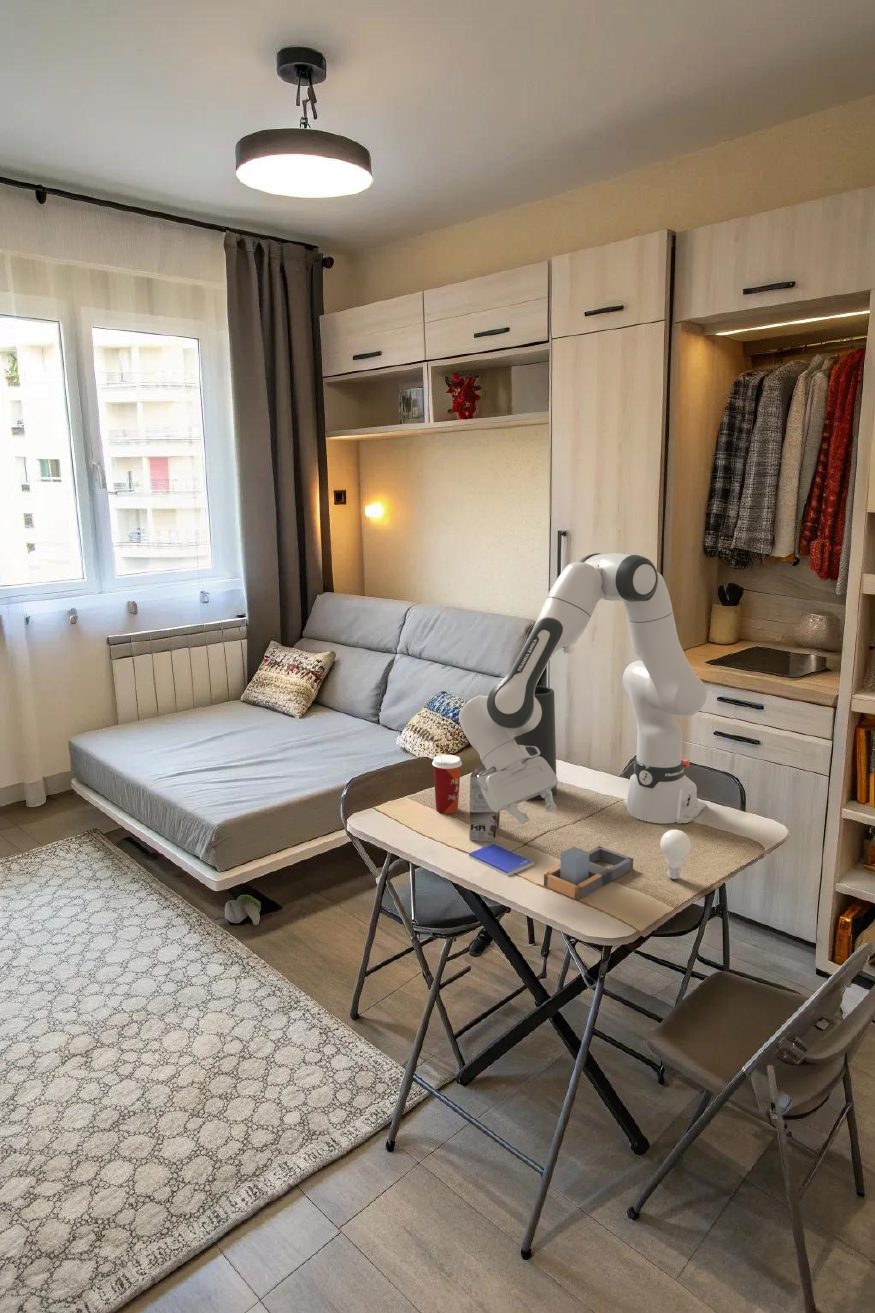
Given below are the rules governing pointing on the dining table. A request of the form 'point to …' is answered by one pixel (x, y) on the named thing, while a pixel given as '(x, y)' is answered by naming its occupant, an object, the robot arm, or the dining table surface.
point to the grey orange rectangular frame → (591, 874)
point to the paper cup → (447, 783)
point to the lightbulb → (675, 851)
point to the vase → (543, 732)
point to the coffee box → (481, 812)
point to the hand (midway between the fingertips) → (539, 816)
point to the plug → (574, 865)
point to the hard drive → (500, 859)
